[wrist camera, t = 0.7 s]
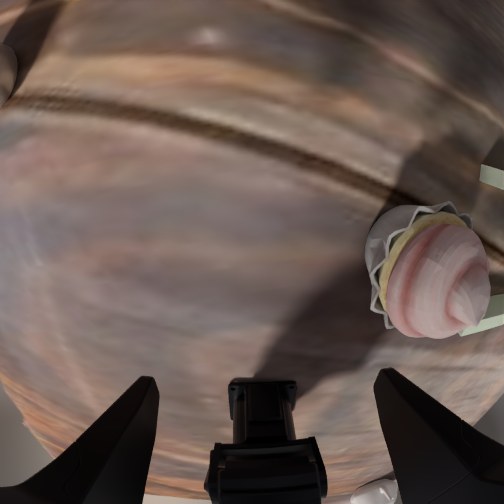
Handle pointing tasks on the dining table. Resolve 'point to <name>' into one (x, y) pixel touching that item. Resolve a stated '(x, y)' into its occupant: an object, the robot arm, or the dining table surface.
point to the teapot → (376, 493)
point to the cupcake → (427, 270)
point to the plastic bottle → (7, 72)
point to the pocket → (499, 306)
